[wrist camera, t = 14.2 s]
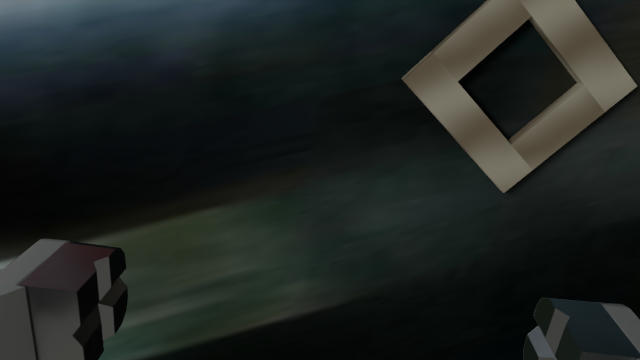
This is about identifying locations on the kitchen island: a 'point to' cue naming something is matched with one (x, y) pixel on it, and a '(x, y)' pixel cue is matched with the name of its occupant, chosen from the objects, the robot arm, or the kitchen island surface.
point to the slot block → (550, 125)
